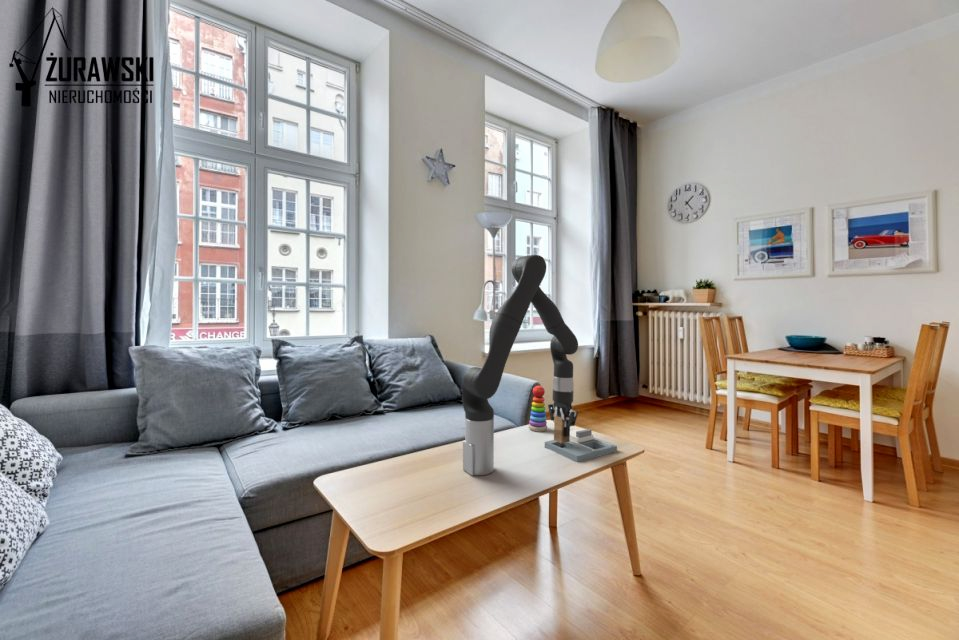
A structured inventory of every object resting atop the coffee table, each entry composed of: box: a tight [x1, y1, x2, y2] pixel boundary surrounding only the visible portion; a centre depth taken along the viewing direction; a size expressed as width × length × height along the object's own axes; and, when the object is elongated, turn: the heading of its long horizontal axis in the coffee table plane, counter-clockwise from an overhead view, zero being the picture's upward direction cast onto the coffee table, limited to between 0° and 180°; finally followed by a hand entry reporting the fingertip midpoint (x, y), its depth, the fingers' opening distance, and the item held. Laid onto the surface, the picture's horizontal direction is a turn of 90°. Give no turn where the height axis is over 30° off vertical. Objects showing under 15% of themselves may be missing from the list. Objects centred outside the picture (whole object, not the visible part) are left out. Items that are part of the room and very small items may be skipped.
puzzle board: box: [544, 436, 618, 463], centre depth 153 cm, size 20×17×3 cm
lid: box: [570, 428, 594, 443], centre depth 158 cm, size 8×8×4 cm
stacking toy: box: [528, 385, 548, 432], centre depth 176 cm, size 8×8×19 cm
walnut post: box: [553, 416, 570, 443], centre depth 152 cm, size 4×4×9 cm
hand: (561, 434), depth 152 cm, fingers closed on walnut post, 4 cm apart
